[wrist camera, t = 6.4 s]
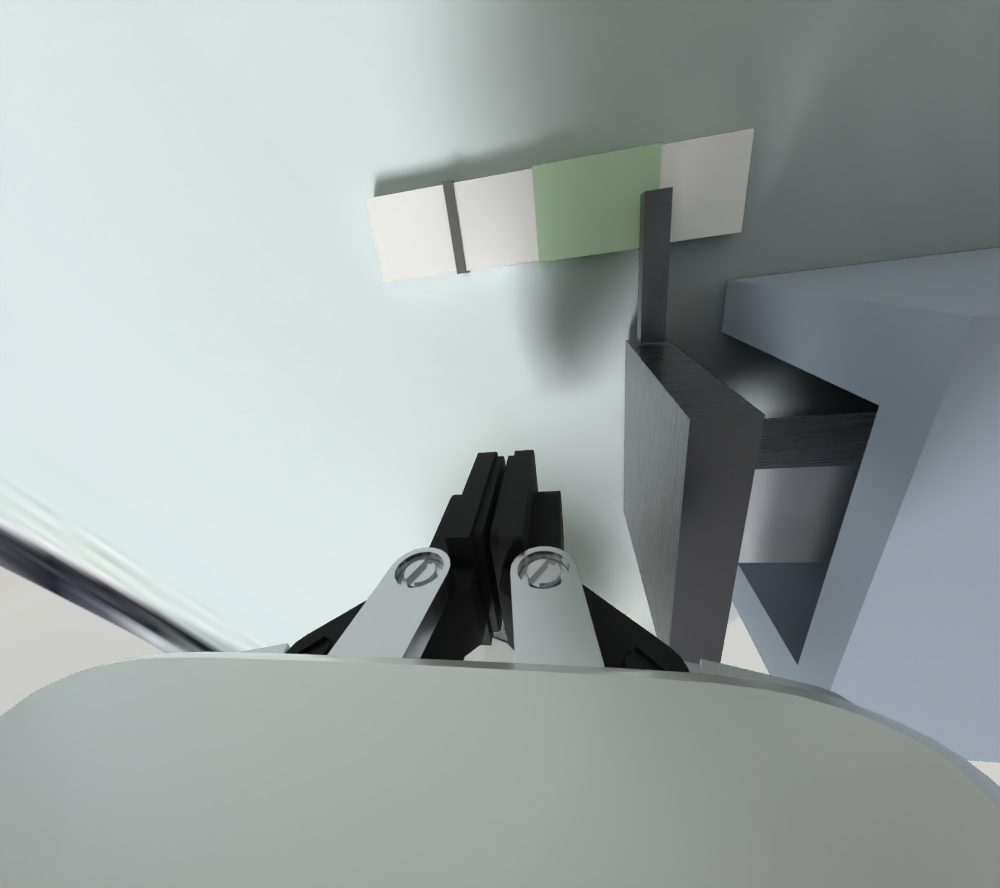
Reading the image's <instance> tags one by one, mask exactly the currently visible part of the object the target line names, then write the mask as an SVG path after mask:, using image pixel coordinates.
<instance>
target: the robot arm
mask: <svg viewBox="0 0 1000 888" xmlns="http://www.w3.org/2000/svg"><path fill="white" fill-rule="evenodd" d="M502 618H503V620H504V626H505V631H506V634H507V640H508V645H509V646H510V647H511V648H512V649H513V650H514V651H515V663H506V662H484V661H472V651H473V650H474V649H476V648H477V647H478V646H480V645H490V646H491V644H492V638H493V632H499V631H500V630H501V625H502ZM0 888H1000V787H999V786H998V785H997V784H996V783H995V782H994V781H993V780H991V779H990V778H989V777H988V776H986V775H985V774H984V773H982V772H981V771H980V770H979V769H977V768H976V767H975V766H973V765H972V764H971V763H969V762H968V761H967V760H965V759H964V758H963V757H962V756H960V755H958V754H957V753H955V752H954V751H952V750H950V749H949V748H947V747H945V746H944V745H942V744H940V743H939V742H937V741H936V740H934V739H932V738H930V737H928V736H926V735H924V734H922V733H920V732H918V731H916V730H914V729H912V728H910V727H908V726H906V725H904V724H902V723H900V722H897V721H895V720H893V719H891V718H888V717H886V716H884V715H881V714H879V713H876V712H873V711H871V710H868V709H865V708H862V707H860V706H857V705H855V704H853V703H852V702H850V701H849V700H847V699H845V698H844V697H842V696H841V695H839V694H838V693H835V692H832V691H830V690H827V689H824V688H821V687H819V686H814V685H810V684H806V683H802V682H798V681H793V680H789V679H785V678H781V677H776V676H772V675H768V674H764V673H759V672H755V671H751V670H747V669H742V668H738V667H734V666H730V665H725V664H721V663H717V662H713V661H709V660H704V659H701V660H700V665H699V664H695V663H691V662H687V661H683V659H682V658H681V657H680V656H679V655H678V654H677V653H676V652H675V651H674V650H673V649H672V648H671V647H669V646H668V645H666V644H665V643H664V642H662V641H661V640H659V639H658V638H657V637H655V636H654V635H652V634H651V633H650V632H648V631H647V630H645V629H644V628H643V627H641V626H640V625H638V624H637V623H636V622H634V621H633V620H631V619H630V618H629V617H627V616H626V615H624V614H623V613H622V612H620V611H619V610H617V609H616V608H615V607H613V606H612V605H610V604H609V603H608V602H606V601H605V600H603V599H602V598H601V597H599V596H598V595H596V594H595V593H594V592H592V591H591V590H589V589H588V588H587V587H585V586H584V585H582V583H581V580H580V576H579V572H578V569H577V565H576V563H575V561H574V559H573V558H572V557H571V556H570V555H569V554H568V553H567V552H565V551H564V538H563V518H562V504H561V492H560V491H549V492H538V486H537V476H536V466H535V456H534V450H523V451H515V454H514V456H508V460H507V464H506V465H505V459H504V456H498V454H497V452H486V453H478V455H477V457H476V460H475V463H474V465H473V468H472V470H471V473H470V475H469V478H468V480H467V483H466V485H465V488H464V490H463V493H462V495H453V496H452V497H451V499H450V501H449V503H448V506H447V508H446V510H445V513H444V515H443V517H442V519H441V522H440V524H439V526H438V529H437V531H436V533H435V536H434V538H433V540H432V542H431V545H430V547H429V548H421V549H416V550H413V551H411V552H409V553H406V554H405V555H403V556H402V557H400V558H399V559H398V560H397V561H396V562H395V563H394V564H393V565H392V566H391V568H390V569H389V570H388V572H387V573H386V575H385V576H384V577H383V579H382V580H381V581H380V583H379V584H378V586H377V587H376V588H375V590H374V591H373V593H372V594H371V595H370V597H369V598H368V599H367V600H366V601H365V602H363V603H361V604H359V605H358V606H356V607H354V608H352V609H351V610H349V611H347V612H346V613H344V614H342V615H340V616H339V617H337V618H335V619H333V620H332V621H330V622H328V623H327V624H325V625H323V626H321V627H320V628H318V629H316V630H314V631H313V632H311V633H309V634H308V635H306V636H304V637H303V638H302V639H300V640H299V641H297V642H296V643H295V644H294V645H293V646H292V647H291V648H290V646H289V645H288V643H287V644H281V645H276V646H271V647H265V648H260V649H254V650H249V651H243V652H183V653H166V654H157V655H146V656H140V657H135V658H129V659H124V660H119V661H115V662H110V663H107V664H103V665H100V666H97V667H93V668H90V669H87V670H84V671H80V672H78V673H75V674H73V675H70V676H67V677H65V678H63V679H60V680H58V681H56V682H54V683H51V684H49V685H47V686H45V687H43V688H41V689H39V690H37V691H36V692H34V693H33V694H31V695H29V696H28V697H26V698H25V699H24V700H23V701H21V702H19V703H18V704H17V705H15V706H14V707H12V708H11V709H10V710H8V711H7V712H6V713H5V714H3V715H2V716H0Z"/></svg>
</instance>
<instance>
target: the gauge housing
mask: <svg viewBox="0 0 1000 888" xmlns="http://www.w3.org/2000/svg"><path fill="white" fill-rule="evenodd" d="M753 136H754V128H751V129H745V130H740V131H734V132H729V133H723V134H718V135H712V136H707V137H701V138H696V139H690V140H685V141H679V142H674V143H668V144H663V145H661V142H660V143H654V144H649V145H643V146H638V147H633V148H627V149H622V150H616V151H611V152H605V153H600V154H594V155H589V156H584V157H578V158H573V159H567V160H562V161H556V162H551V163H545V164H540V165H534V166H532V168H531V169H526V170H520V171H515V172H510V173H504V174H499V175H493V176H488V177H482V178H477V179H471V180H466V181H460V182H453V181H447V182H442V183H443V185H438V186H433V187H427V188H422V189H416V190H411V191H405V192H400V193H394V194H389V195H383V196H378V197H373V198H367V199H364V200H365V204H366V208H367V212H368V216H369V221H370V225H371V229H372V233H373V237H374V242H375V246H376V250H377V254H378V258H379V263H380V267H381V271H382V275H383V280H384V282H390V281H397V280H405V279H412V278H419V277H426V276H433V275H440V274H447V273H455V272H457V274H460V273H467V272H470V270H476V269H483V268H490V267H497V266H504V265H512V264H519V263H526V262H533V261H539V262H546V261H553V260H560V259H567V258H575V257H582V256H589V255H596V254H603V253H610V252H618V251H625V250H632V249H639V233H640V195H641V194H642V193H643V192H645V191H650V190H656V189H662V188H669V187H673V197H672V215H671V233H670V242H676V241H683V240H690V239H697V238H704V237H711V236H719V235H726V234H733V233H740V232H742V224H743V216H744V208H745V200H746V192H747V184H748V176H749V168H750V160H751V152H752V144H753ZM721 332H723V333H725V334H727V335H729V336H731V337H733V338H736V339H738V340H740V341H742V342H744V343H746V344H748V345H751V346H753V347H755V348H757V349H759V350H761V351H763V352H766V353H768V354H770V355H772V356H774V357H776V358H778V359H781V360H783V361H785V362H787V363H789V364H791V365H793V366H795V367H798V368H800V369H802V370H804V371H806V372H808V373H810V374H813V375H815V376H817V377H819V378H821V379H823V380H825V381H828V382H830V383H832V384H834V385H836V386H838V387H840V388H843V389H845V390H847V391H849V392H851V393H853V394H855V395H858V396H860V397H862V398H864V399H866V400H868V401H870V402H873V403H875V404H877V405H879V408H878V411H877V414H876V418H875V421H874V424H873V427H872V430H871V433H870V437H869V440H868V443H867V446H866V449H865V453H864V456H863V459H862V462H861V465H860V469H859V472H858V475H857V478H856V481H855V485H854V488H853V491H852V494H851V497H850V500H849V504H848V507H847V510H846V513H845V516H844V520H843V523H842V526H841V529H840V532H839V536H838V539H837V542H836V545H835V548H834V551H833V555H832V558H831V561H830V562H804V563H738V567H737V573H736V578H735V584H734V590H733V595H732V601H733V603H734V605H735V607H736V609H737V611H738V613H739V615H740V617H741V619H742V621H743V623H744V625H745V627H746V629H747V631H748V632H749V635H750V637H751V639H752V641H753V642H754V644H755V646H756V648H757V650H758V652H759V654H760V656H761V658H762V660H763V662H764V664H765V666H766V668H767V670H768V672H769V674H770V675H772V676H776V677H781V678H785V679H789V680H793V681H798V682H802V683H806V684H810V685H814V686H819V687H821V688H824V689H827V690H830V691H832V692H835V693H838V694H839V695H841V696H842V697H844V698H845V699H847V700H849V701H850V702H852V703H853V704H855V705H857V706H860V707H862V708H865V709H868V710H871V711H873V712H876V713H879V714H881V715H884V716H886V717H888V718H891V719H893V720H895V721H897V722H900V723H902V724H904V725H906V726H908V727H910V728H912V729H914V730H916V731H918V732H920V733H922V734H924V735H926V736H928V737H930V738H932V739H934V740H936V741H937V742H939V743H940V744H942V745H944V746H945V747H947V748H949V749H950V750H952V751H954V752H955V753H957V754H958V755H960V756H962V757H963V758H964V759H965V760H972V761H985V762H1000V247H996V248H988V249H979V250H971V251H963V252H955V253H946V254H938V255H930V256H922V257H913V258H905V259H897V260H889V261H880V262H872V263H864V264H855V265H847V266H839V267H831V268H822V269H814V270H806V271H798V272H789V273H781V274H773V275H765V276H756V277H748V278H740V279H732V280H727V288H726V297H725V305H724V314H723V322H722V331H721Z"/></svg>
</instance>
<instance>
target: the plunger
mask: <svg viewBox="0 0 1000 888" xmlns="http://www.w3.org/2000/svg"><path fill="white" fill-rule="evenodd" d="M672 197H673V187H669V188H662V189H656V190H650V191H645V192H643V193H642V194H641V195H640V233H639V274H638V314H637V339H634V340H626V360H625V440H624V514H625V518H626V521H627V525H628V529H629V533H630V537H631V540H632V544H633V548H634V552H635V556H636V559H637V563H638V567H639V571H640V575H641V578H642V582H643V586H644V590H645V594H646V597H647V601H648V605H649V609H650V613H651V616H652V620H653V624H654V628H655V632H656V635H657V638H658V639H659V640H661V641H662V642H664V643H665V644H666V645H668V646H669V647H671V648H672V649H673V650H674V651H675V652H676V653H677V654H678V655H679V656H680V657H681V658H682V659H683V661H687V662H691V663H695V664H699V665H700V660H701V659H704V660H709V661H713V662H717V663H720V661H721V656H722V650H723V645H724V639H725V633H726V628H727V623H728V617H729V612H730V606H731V601H732V595H733V590H734V584H735V578H736V573H737V567H738V563H804V562H830V561H831V558H832V555H833V551H834V548H835V545H836V542H837V539H838V536H839V532H840V529H841V526H842V523H843V520H844V516H845V513H846V510H847V507H848V504H849V500H850V497H851V494H852V491H853V488H854V485H855V481H856V478H857V475H858V472H859V469H860V465H861V462H862V459H863V456H864V453H865V449H866V446H867V443H868V440H869V437H870V433H871V430H872V427H873V424H874V421H875V418H876V414H877V412H865V413H849V414H833V415H816V416H800V417H784V418H768V419H764V418H765V414H764V413H762V412H761V411H760V410H758V409H757V408H756V407H754V406H753V405H752V404H751V403H749V402H748V401H747V400H745V399H744V398H743V397H741V396H740V395H739V394H737V393H736V392H735V391H734V390H732V389H731V388H730V387H728V386H727V385H726V384H724V383H723V382H722V381H721V380H719V379H718V378H717V377H715V376H714V375H713V374H711V373H710V372H709V371H707V370H706V369H705V368H704V367H702V366H701V365H700V364H698V363H697V362H696V361H694V360H693V359H692V358H690V357H689V356H688V355H687V354H685V353H684V352H683V351H681V350H680V349H679V348H677V347H676V346H675V345H674V344H672V343H671V342H670V341H668V340H667V339H666V338H665V323H666V305H667V287H668V269H669V251H670V233H671V215H672Z"/></svg>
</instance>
